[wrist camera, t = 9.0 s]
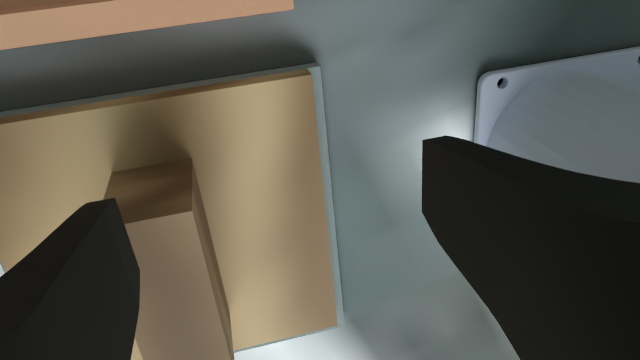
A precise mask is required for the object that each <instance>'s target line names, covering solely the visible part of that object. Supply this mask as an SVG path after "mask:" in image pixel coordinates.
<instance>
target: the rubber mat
mask: <svg viewBox="0 0 640 360" xmlns="http://www.w3.org/2000/svg"><path fill="white" fill-rule="evenodd" d="M304 69H308V70H309V72H310V73H311V74H312V82H313V92H314V101H315V111H316V121H317V130H318V140H319V150H320V159H321V169H322V179H323V189H324V198H325V208H326V218H327V227H328V237H329V247H330V256H331V266H332V276H333V285H334V295H335V305H336V314H337V324H338V326H334V327H330V328H326V329H322V330H317V331H313V332H309V333H305V334H301V335H297V336H293V337H288V338H284V339H280V340H276V341H272V342H268V343H263V344H259V345H255V346H251V347H247V348H243V349H239V350H234V351H233V352H234V353H235V352H239V351H243V350H247V349H251V348H255V347H260V346H264V345H268V344H272V343H276V342H280V341H285V340H289V339H293V338H297V337H301V336H305V335H309V334H314V333H318V332H322V331H326V330H330V329H334V328H338V327H343V326H344V316H343V305H342V294H341V283H340V273H339V262H338V251H337V241H336V230H335V219H334V209H333V198H332V187H331V176H330V166H329V155H328V144H327V134H326V123H325V112H324V102H323V91H322V80H321V69H320V65H319V64H318V63H317V62H316V63H310V64H303V65H297V66H291V67H284V68H278V69H271V70H265V71H258V72H252V73H246V74H239V75H233V76H226V77H220V78H214V79H207V80H201V81H194V82H188V83H181V84H175V85H169V86H162V87H156V88H149V89H143V90H137V91H130V92H124V93H117V94H111V95H105V96H98V97H92V98H85V99H79V100H72V101H66V102H60V103H53V104H47V105H40V106H34V107H28V108H21V109H15V110H8V111H2V112H0V117H7V116H13V115H19V114H26V113H32V112H38V111H45V110H51V109H57V108H64V107H70V106H76V105H83V104H89V103H95V102H102V101H108V100H114V99H121V98H127V97H133V96H140V95H146V94H152V93H159V92H165V91H171V90H178V89H184V88H190V87H197V86H203V85H209V84H215V83H222V82H228V81H234V80H241V79H247V78H253V77H260V76H266V75H272V74H279V73H285V72H291V71H298V70H304ZM0 264H1V266H2V268H3V270H4V272H5V273H6V271H5V269H4V267H3V265H2V263H1V261H0Z"/></svg>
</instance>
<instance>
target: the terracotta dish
mask: <svg viewBox="0 0 640 360" xmlns="http://www.w3.org/2000/svg"><path fill="white" fill-rule="evenodd" d="M293 9H294V4H293V0H0V50H3V49H11V48H18V47H25V46H32V45H40V44H47V43H54V42H61V41H69V40H76V39H83V38H90V37H98V36H105V35H112V34H119V33H126V32H134V31H141V30H148V29H155V28H163V27H170V26H177V25H184V24H192V23H199V22H206V21H213V20H221V19H228V18H235V17H242V16H249V15H257V14H264V13H271V12H278V11H286V10H293Z"/></svg>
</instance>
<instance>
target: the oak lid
mask: <svg viewBox="0 0 640 360" xmlns="http://www.w3.org/2000/svg"><path fill="white" fill-rule="evenodd" d="M110 198H115V199H116V202H117V205H118V207H119V210H120V213H121V216H122V219H123V222H124V225H125V228H126V231H127V234H128V237H129V240H130V242H131V245H132V248H133V251H134V254H135V257H136V260H137V263H138V266H139V269H140V305H139V314H138V320H137V326H136V332H135V338H134V344H133V350H132V355H131V360H234V352H233V351H234V350H239V349H243V348H247V347H251V346H255V345H259V344H263V343H268V342H272V341H276V340H280V339H284V338H288V337H293V336H297V335H301V334H305V333H309V332H313V331H317V330H322V329H326V328H330V327H334V326H338V324H337V314H336V305H335V295H334V285H333V276H332V266H331V256H330V247H329V237H328V227H327V218H326V208H325V198H324V189H323V179H322V169H321V159H320V150H319V140H318V130H317V121H316V111H315V101H314V92H313V82H312V74H311V73H310V72H309V70H308V69H304V70H298V71H291V72H285V73H279V74H272V75H266V76H260V77H253V78H247V79H241V80H234V81H228V82H222V83H215V84H209V85H203V86H197V87H190V88H184V89H178V90H171V91H165V92H159V93H152V94H146V95H140V96H133V97H127V98H121V99H114V100H108V101H102V102H95V103H89V104H83V105H76V106H70V107H64V108H57V109H51V110H45V111H38V112H32V113H26V114H19V115H13V116H7V117H0V261H1V263H2V265H3V267H4V269H5V271H6V272H7V271H8V270H10V269H11V268H12V267H13V266H14V265H16V264H17V263H18V262H19V261H20V260H22V259H23V258H24V257H25V256H26V255H28V254H29V253H30V252H31V251H32V250H33V249H34V248H36V247H37V246H38V245H39V244H40V243H41V242H42V241H43V240H44V239H45V238H47V237H48V236H49V235H50V234H51V233H52V232H53V231H54V230H55V229H56V228H58V227H59V226H60V225H61V224H62V223H63V222H64V221H65V220H66V219H67V218H68V217H70V216H71V215H72V214H73V213H74V212H75V211H76V210H78V209H79V208H80V207H81V206H83V205H84V204H86V203H88V202H94V201H99V200H104V199H110Z"/></svg>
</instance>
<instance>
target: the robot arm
mask: <svg viewBox="0 0 640 360" xmlns="http://www.w3.org/2000/svg"><path fill="white" fill-rule="evenodd" d="M639 56H640V46H639V47H633V48H627V49H621V50H615V51H609V52H603V53H597V54H591V55H585V56H579V57H573V58H567V59H561V60H555V61H549V62H543V63H538V64H532V65H526V66H520V67H514V68H508V69H502V70H496V71H490V72H487V73H484V74H483V75H482V76H481V77H480V79H479V81H478V85H477V100H476V116H475V131H474V142H471V141H467V140H464V139H460V138H456V137H451V136H442V137H437V138H431V139H426V140H423V150H422V213H423V215H424V216H425V218H426V220H427V222H428V224H429V226H430V228H431V230H432V232H433V233H434V235H435V237H436V239H437V241H438V242H439V244H440V245H441V246H442V248H443V249H444V251H445V252H446V253H447V255H448V256H449V257H450V259H451V260H452V261H453V263H454V264H455V265H456V267H457V268H458V269H459V270H460V272H461V273H462V274H463V276H464V277H465V278H466V280H467V281H468V282H469V284H470V285H471V286H472V287H473V289H474V290H475V291H476V293H477V294H478V295H479V297H480V298H481V299H482V301H483V302H484V303H485V304H486V306H487V307H488V308H489V310H490V311H491V313H492V314H493V316H494V317H495V319H496V320H497V321H498V323H499V324H500V326H501V328H502V329H503V331H504V333H505V334H506V336H507V338H508V339H509V341H510V343H511V344H512V346H513V348H514V349H515V351H516V353H517V354H518V356H519V358H520V360H640V59H639V60H638V58H639ZM500 78H503V82H502V84H501V85H500V86H497V83H498V81H499V79H500ZM139 305H140V269H139V266H138V263H137V260H136V257H135V254H134V251H133V248H132V245H131V242H130V240H129V237H128V234H127V231H126V228H125V225H124V222H123V219H122V216H121V213H120V210H119V207H118V205H117V202H116V199H115V198H110V199H104V200H99V201H94V202H88V203H86V204H84V205H83V206H81V207H80V208H79V209H78V210H76V211H75V212H74V213H73V214H72V215H71V216H70V217H68V218H67V219H66V220H65V221H64V222H63V223H62V224H61V225H60V226H59V227H58V228H56V229H55V230H54V231H53V232H52V233H51V234H50V235H49V236H48V237H47V238H45V239H44V240H43V241H42V242H41V243H40V244H39V245H38V246H37V247H36V248H34V249H33V250H32V251H31V252H30V253H29V254H28V255H26V256H25V257H24V258H23V259H22V260H20V261H19V262H18V263H17V264H16V265H14V266H13V267H12V268H11V269H10V270H8V271H7V272H6V273H5V274H4V275H2V276H1V277H0V360H131V355H132V350H133V344H134V338H135V332H136V326H137V320H138V314H139Z"/></svg>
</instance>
